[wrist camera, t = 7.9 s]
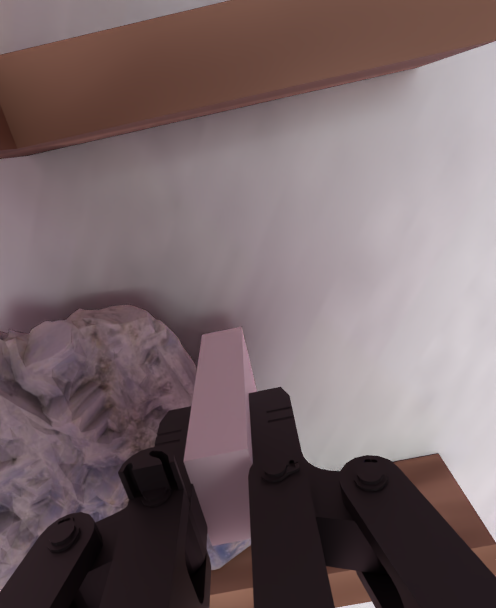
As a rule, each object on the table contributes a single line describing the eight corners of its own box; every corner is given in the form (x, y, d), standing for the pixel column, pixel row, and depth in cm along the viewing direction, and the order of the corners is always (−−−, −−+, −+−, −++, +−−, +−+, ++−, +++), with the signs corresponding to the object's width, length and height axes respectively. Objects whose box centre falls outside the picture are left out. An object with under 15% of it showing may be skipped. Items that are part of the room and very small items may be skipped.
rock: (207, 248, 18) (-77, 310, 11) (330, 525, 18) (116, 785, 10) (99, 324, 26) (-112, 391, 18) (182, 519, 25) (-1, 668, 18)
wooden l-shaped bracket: (4, 94, 15) (-290, 47, 6) (414, -1, 14) (676, -189, 6) (170, 534, 23) (135, 772, 14) (440, 484, 22) (568, 702, 14)
